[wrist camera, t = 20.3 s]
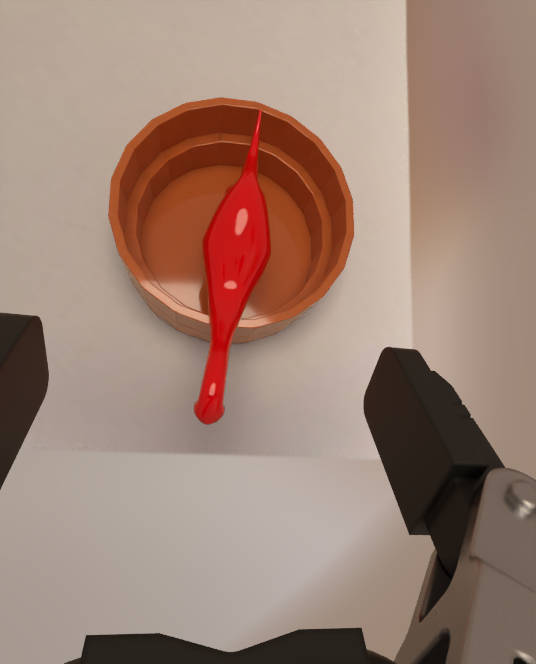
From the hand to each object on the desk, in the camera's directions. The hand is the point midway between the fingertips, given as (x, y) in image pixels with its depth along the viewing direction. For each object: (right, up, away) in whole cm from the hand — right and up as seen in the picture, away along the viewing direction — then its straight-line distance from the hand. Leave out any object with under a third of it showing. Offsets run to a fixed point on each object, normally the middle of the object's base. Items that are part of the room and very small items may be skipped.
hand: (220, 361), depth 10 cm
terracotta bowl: (-2, +7, +20) cm, 21 cm away
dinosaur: (-1, +7, +18) cm, 20 cm away
